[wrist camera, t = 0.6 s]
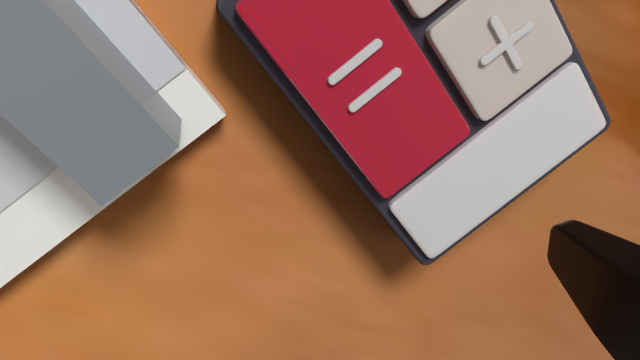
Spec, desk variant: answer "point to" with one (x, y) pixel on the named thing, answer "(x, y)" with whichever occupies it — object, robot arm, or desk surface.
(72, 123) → the rail board
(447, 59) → the calculator
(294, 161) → the desk surface
